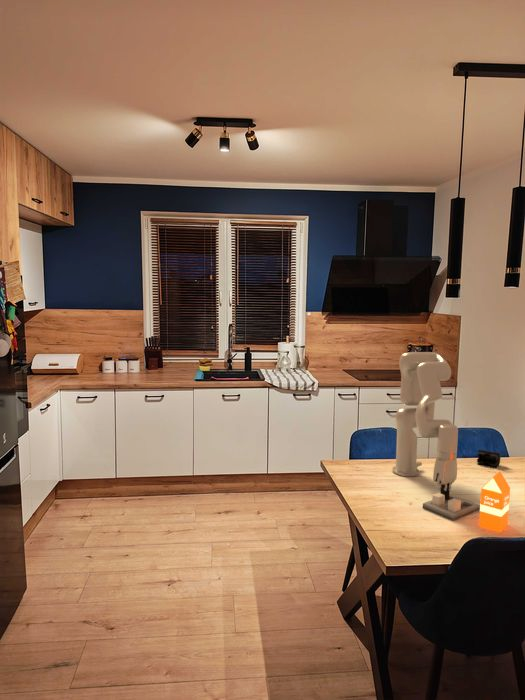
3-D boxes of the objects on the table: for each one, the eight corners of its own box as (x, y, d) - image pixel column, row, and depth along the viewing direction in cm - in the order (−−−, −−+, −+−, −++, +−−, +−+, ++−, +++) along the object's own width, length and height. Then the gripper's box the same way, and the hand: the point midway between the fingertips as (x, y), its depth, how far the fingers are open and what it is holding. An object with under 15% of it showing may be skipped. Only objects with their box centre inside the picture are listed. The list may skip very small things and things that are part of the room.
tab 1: (438, 502, 207) (438, 492, 207) (444, 505, 205) (444, 495, 204) (431, 505, 205) (432, 494, 205) (438, 507, 203) (438, 497, 202)
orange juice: (508, 524, 191) (511, 473, 189) (500, 532, 184) (504, 479, 182) (486, 518, 196) (489, 468, 194) (478, 526, 189) (481, 474, 187)
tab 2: (453, 508, 202) (454, 498, 201) (460, 511, 199) (461, 500, 199) (447, 511, 200) (448, 500, 199) (454, 513, 197) (454, 503, 197)
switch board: (449, 498, 215) (449, 493, 215) (480, 509, 204) (480, 504, 204) (422, 508, 205) (422, 503, 205) (453, 520, 194) (453, 515, 193)
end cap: (500, 465, 258) (501, 452, 258) (497, 468, 253) (497, 455, 252) (479, 461, 264) (480, 448, 263) (475, 464, 259) (476, 451, 258)
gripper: (449, 449, 212) (447, 491, 214) (427, 455, 204) (425, 499, 206) (465, 454, 206) (463, 497, 208) (443, 460, 198) (441, 506, 200)
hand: (444, 498), depth 207 cm, fingers closed
